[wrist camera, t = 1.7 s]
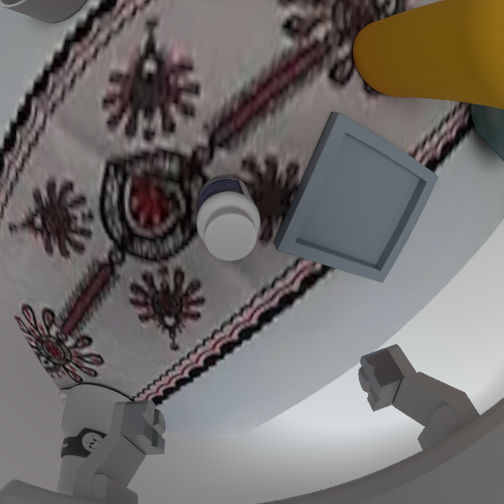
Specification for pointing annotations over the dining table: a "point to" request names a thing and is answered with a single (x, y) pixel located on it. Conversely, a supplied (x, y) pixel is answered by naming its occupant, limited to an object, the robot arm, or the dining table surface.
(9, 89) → the dining table surface
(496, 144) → the flower pot
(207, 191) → the pill bottle
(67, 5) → the cup
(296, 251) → the dish
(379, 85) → the beer bottle
